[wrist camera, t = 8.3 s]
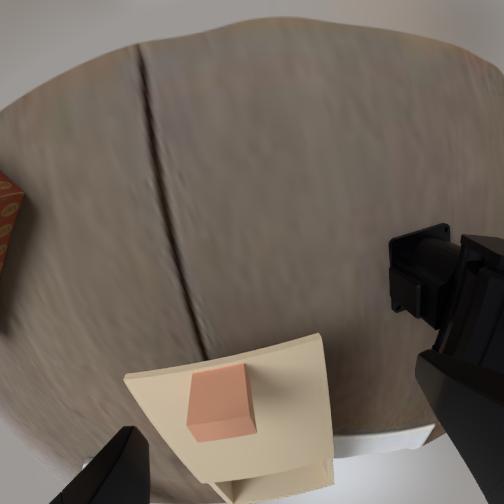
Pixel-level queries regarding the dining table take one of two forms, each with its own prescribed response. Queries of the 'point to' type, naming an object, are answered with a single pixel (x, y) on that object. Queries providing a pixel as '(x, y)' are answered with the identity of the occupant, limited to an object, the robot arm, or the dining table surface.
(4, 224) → the carton
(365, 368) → the dining table surface
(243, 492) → the kraft box
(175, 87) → the dining table surface
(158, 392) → the lid panel
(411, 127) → the dining table surface
